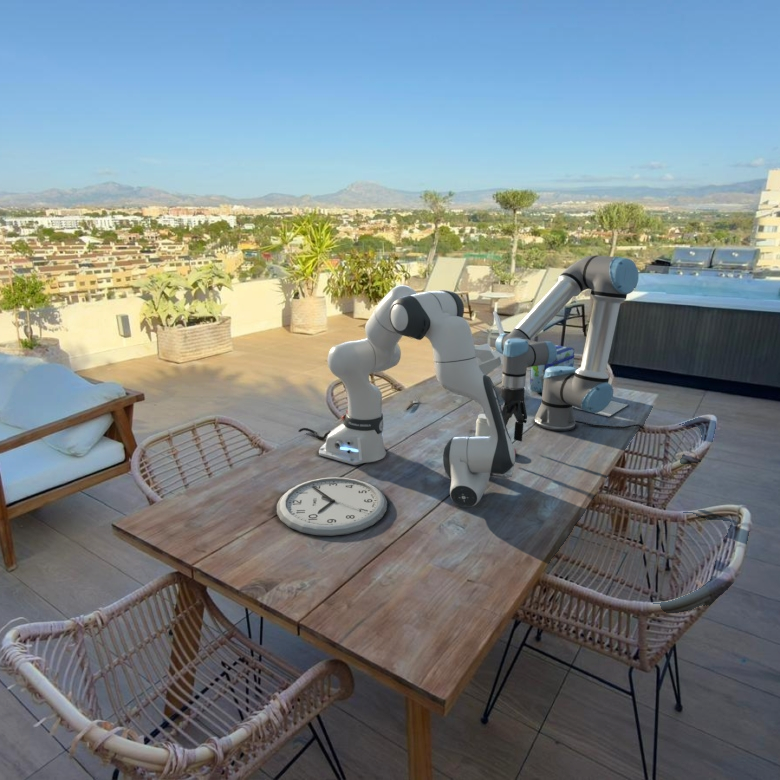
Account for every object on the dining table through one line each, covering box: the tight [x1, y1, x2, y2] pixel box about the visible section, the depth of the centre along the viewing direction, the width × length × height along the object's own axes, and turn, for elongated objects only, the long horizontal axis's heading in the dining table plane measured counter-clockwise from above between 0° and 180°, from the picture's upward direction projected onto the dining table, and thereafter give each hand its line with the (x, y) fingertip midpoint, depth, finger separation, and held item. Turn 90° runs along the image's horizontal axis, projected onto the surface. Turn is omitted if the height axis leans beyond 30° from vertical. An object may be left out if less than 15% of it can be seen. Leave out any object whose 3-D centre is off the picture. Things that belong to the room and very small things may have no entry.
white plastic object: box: [475, 310, 531, 397], centre depth 245 cm, size 37×45×31 cm
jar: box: [474, 413, 491, 437], centre depth 160 cm, size 5×5×19 cm
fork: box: [406, 394, 421, 411], centre depth 223 cm, size 3×16×2 cm, turn 160°
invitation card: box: [573, 400, 629, 418], centre depth 226 cm, size 21×1×15 cm
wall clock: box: [276, 476, 388, 537], centre depth 142 cm, size 30×2×30 cm
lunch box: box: [529, 344, 575, 394], centre depth 245 cm, size 26×11×21 cm, turn 134°
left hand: (483, 453), depth 162 cm, fingers closed on jar, 5 cm apart
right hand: (508, 446), depth 177 cm, fingers open, 13 cm apart
